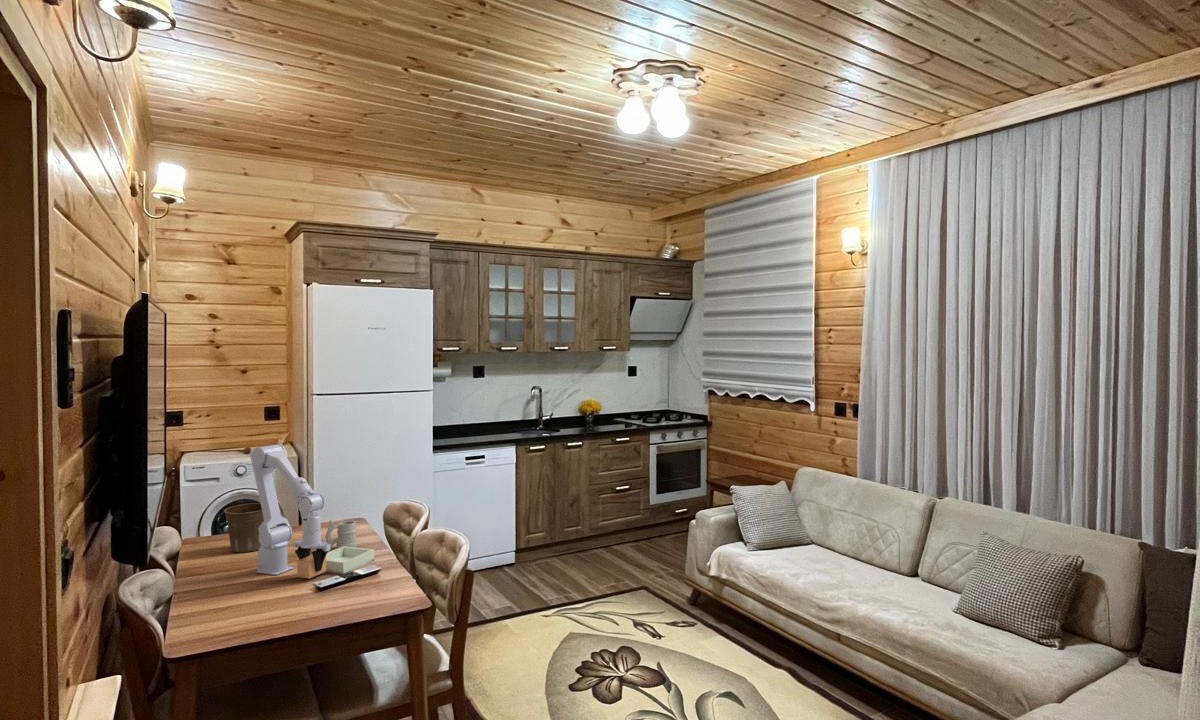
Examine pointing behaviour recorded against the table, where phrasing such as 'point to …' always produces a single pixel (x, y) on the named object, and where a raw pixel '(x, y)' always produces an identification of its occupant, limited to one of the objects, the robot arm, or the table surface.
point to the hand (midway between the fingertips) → (311, 569)
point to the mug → (342, 534)
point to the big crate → (347, 559)
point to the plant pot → (244, 526)
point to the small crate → (309, 567)
